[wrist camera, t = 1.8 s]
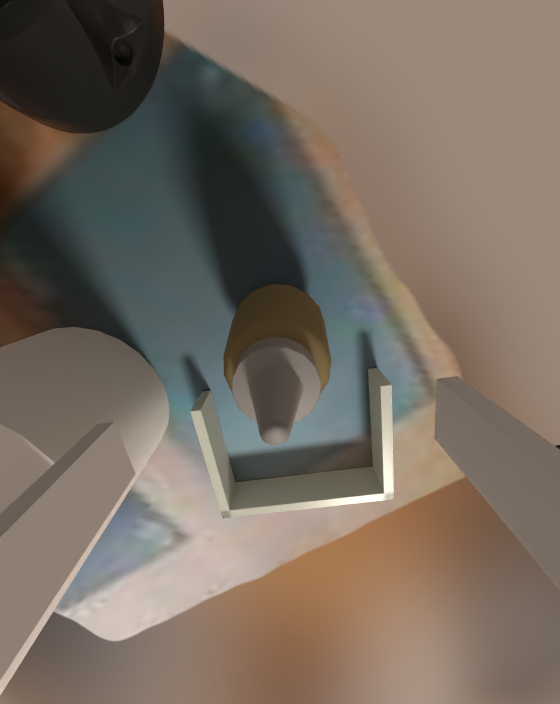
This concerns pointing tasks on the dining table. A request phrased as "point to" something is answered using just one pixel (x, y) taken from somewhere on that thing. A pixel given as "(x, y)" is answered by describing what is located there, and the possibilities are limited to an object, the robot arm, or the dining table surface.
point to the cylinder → (72, 415)
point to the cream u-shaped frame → (305, 487)
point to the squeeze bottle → (277, 358)
